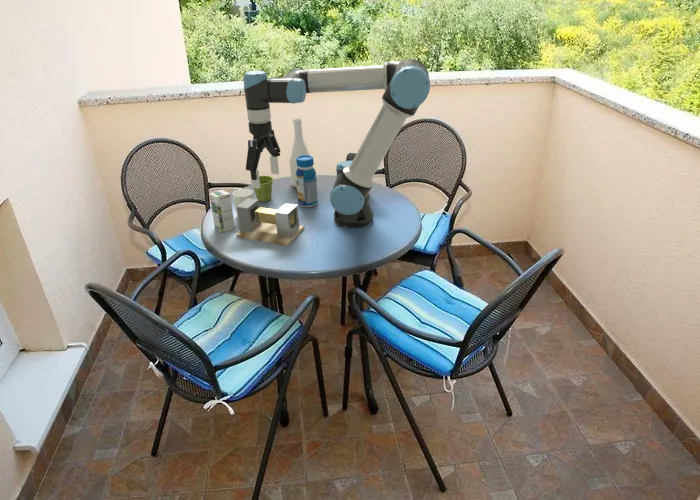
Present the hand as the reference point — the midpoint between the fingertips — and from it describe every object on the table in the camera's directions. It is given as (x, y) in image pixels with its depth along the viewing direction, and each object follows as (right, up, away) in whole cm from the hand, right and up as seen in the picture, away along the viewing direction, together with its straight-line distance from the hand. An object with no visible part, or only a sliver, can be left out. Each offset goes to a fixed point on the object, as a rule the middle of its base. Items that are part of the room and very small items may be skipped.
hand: (266, 180), depth 179 cm
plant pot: (-7, -3, +38) cm, 39 cm away
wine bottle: (+8, +5, +51) cm, 51 cm away
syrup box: (-18, -16, +15) cm, 28 cm away
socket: (-8, -16, +12) cm, 21 cm away
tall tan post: (+2, -14, +7) cm, 16 cm away
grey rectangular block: (+7, -18, +8) cm, 21 cm away
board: (0, -18, +10) cm, 21 cm away
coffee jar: (+33, -1, +39) cm, 51 cm away
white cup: (-12, -11, +24) cm, 29 cm away
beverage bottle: (+12, -5, +33) cm, 35 cm away
